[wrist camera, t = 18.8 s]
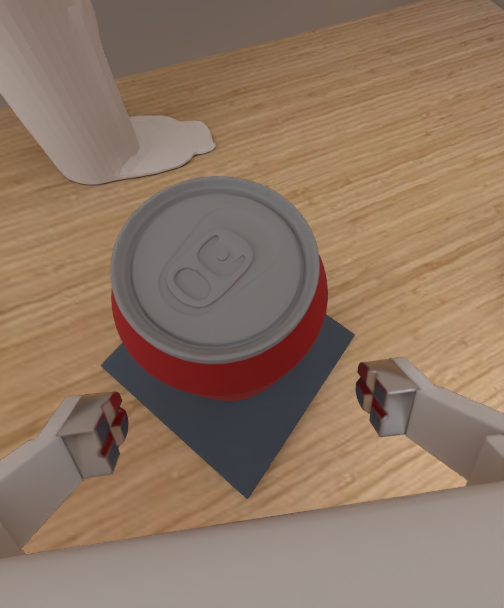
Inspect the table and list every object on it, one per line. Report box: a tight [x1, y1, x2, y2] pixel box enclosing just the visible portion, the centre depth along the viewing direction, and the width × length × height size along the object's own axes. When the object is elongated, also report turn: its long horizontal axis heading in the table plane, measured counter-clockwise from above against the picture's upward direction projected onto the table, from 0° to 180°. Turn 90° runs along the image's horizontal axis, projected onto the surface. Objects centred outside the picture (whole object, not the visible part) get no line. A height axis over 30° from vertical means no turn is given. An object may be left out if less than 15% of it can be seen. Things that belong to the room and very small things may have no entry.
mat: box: [101, 314, 355, 499], centre depth 18 cm, size 12×12×1 cm
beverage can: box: [110, 176, 328, 401], centre depth 13 cm, size 7×7×12 cm
